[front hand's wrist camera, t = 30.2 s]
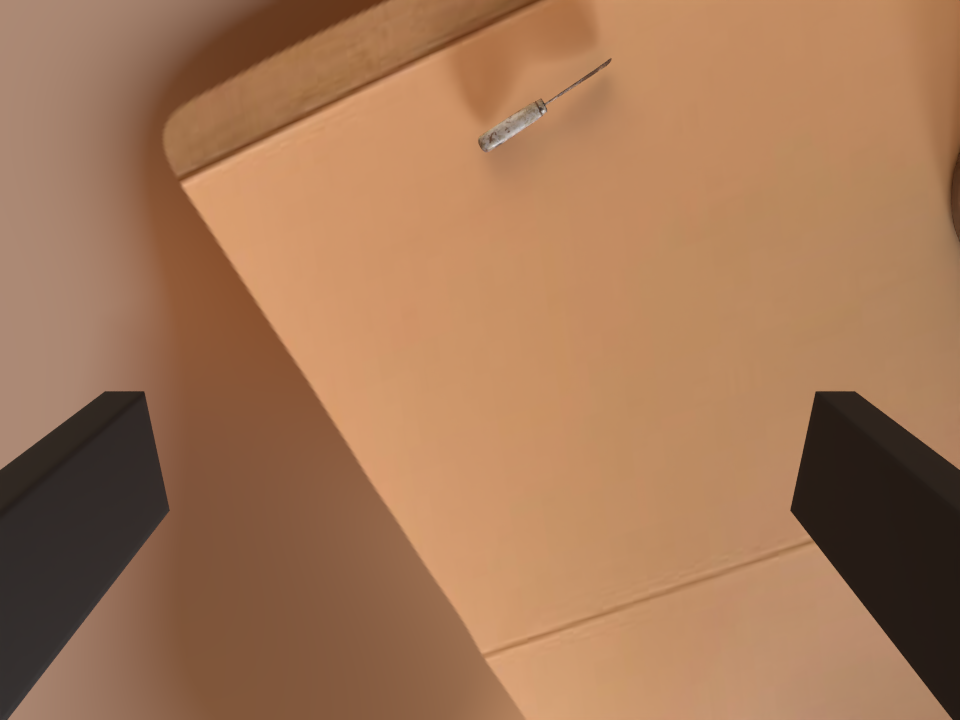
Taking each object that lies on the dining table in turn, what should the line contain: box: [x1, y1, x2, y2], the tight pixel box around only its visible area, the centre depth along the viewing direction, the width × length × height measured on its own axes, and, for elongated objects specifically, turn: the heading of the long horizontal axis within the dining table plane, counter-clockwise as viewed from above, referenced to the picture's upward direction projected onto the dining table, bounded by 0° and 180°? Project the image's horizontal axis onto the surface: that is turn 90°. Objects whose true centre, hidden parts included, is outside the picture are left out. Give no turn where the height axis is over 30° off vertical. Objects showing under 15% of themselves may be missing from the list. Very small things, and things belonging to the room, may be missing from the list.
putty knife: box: [478, 59, 611, 152], centre depth 34 cm, size 1×8×2 cm, turn 124°
